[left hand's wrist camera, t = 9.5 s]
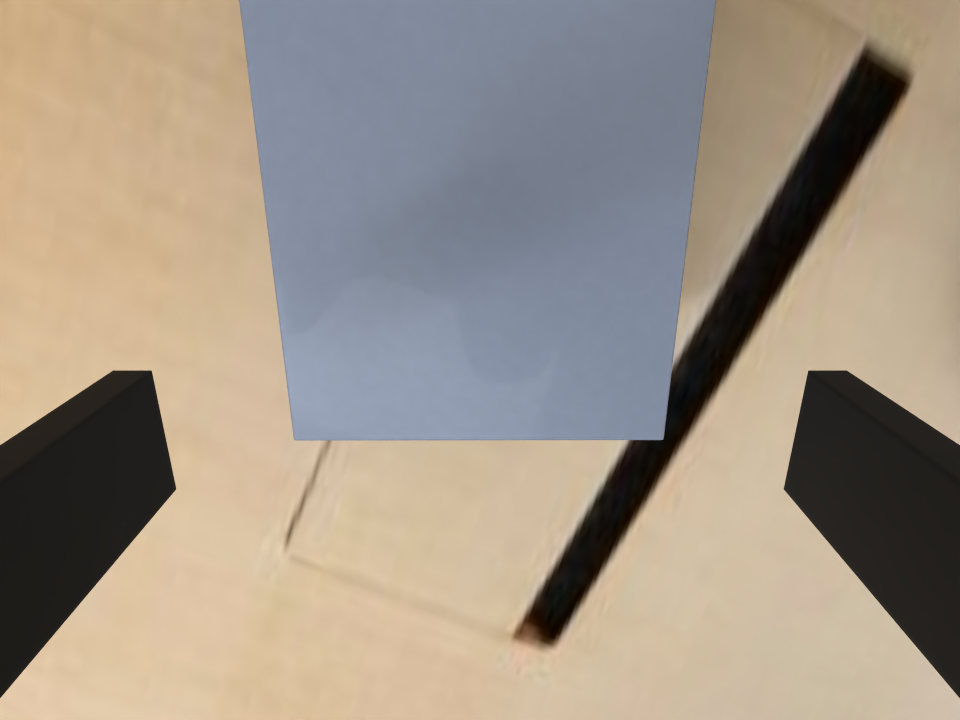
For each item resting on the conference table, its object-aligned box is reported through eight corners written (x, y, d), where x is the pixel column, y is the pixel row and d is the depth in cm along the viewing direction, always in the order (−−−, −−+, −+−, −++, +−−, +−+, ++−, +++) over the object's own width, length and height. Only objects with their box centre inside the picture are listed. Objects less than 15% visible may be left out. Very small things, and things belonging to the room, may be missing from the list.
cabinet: (312, -207, 20) (179, -473, 11) (643, -207, 20) (773, -474, 11) (354, 337, 27) (293, 441, 18) (603, 337, 27) (664, 440, 18)
